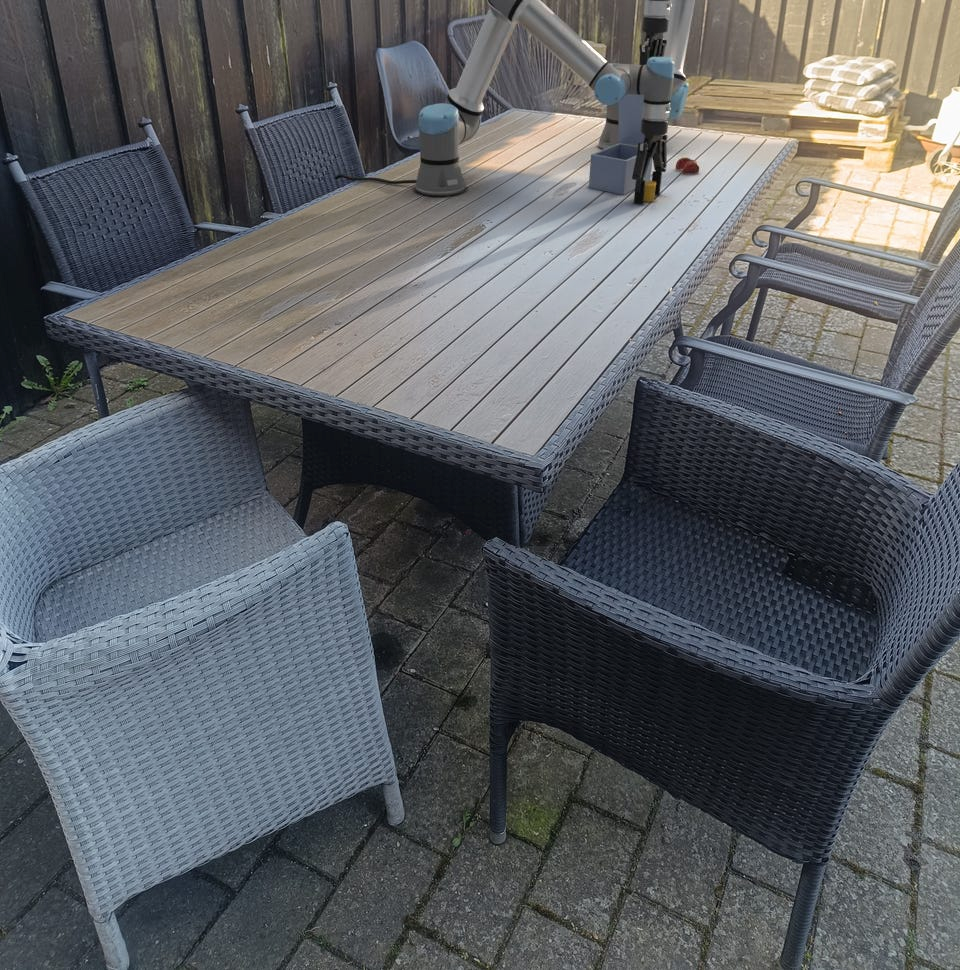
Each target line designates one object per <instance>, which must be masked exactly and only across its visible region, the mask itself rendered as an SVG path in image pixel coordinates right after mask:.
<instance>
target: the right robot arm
mask: <svg viewBox="0 0 960 970" xmlns="http://www.w3.org/2000/svg"><path fill="white" fill-rule="evenodd" d="M695 3H696V0H644V6H643V15H644V17H643V18H642V27H641V30H642V32H643V33H645V37H644V43H640V44H639V65H646V64H647V61H648V59H649V58H651V57H668V58H671V59H673V60H674V79H673V87H672V95H671V102H670V108H671V110H670V111H669V117H668V118H667V119H668V120H677V119H679V118H680V117H681V116H682V113H683V112H684V109H685V106H686V104H687V100H688V95H689V90H690V83H688V82H687V76H686V75H685V73H684V72H683V71H684V66H685V60H686V54H687V48H688V44H689V43H688V42H689V39H690V38H689V36H690V32H691V27H692V19H693V14H694V10H695V9H694V7H695ZM618 143H622V142H619V108H618V102H617V103H615V104H612V105H606V115H605V124H604V127H603V129H602V132H601V135H600V137H599V139H598V147H599V149H602V150H603V149H606V148H608V147H611V146H613V145H616V144H618ZM622 144H627V145H633V146H638V145H634V144H628V143H622Z"/></svg>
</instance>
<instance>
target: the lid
mask: <svg viewBox="0 0 960 970" xmlns="http://www.w3.org/2000/svg"><path fill="white" fill-rule="evenodd" d="M643 102H644V95H636V94H627V95H625V96H624V97H623V98H622V99H621V100H620V101H619V102H618V108H619V142H622V143H628V144H634V145H638V143H643V141H644V138H645V135H644V134H642V133H641V122H642V119H643V117H642V111H643Z"/></svg>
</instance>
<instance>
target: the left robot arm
mask: <svg viewBox="0 0 960 970" xmlns="http://www.w3.org/2000/svg"><path fill="white" fill-rule="evenodd" d="M486 2H487V3H486V4H487V6H488V11H487V13H486V14H485V18H484V21H483V23H482V25H481V27H480V30H479V32H478V34H477V36H476V40H475V41H474V44H473V47H472V49H471V51H470V53H469V56H468V59H467V61H466V63H465V65H464V67H463V70H462V72H461V75H460V78H459V80H458V82H457V85H456V87H454V88H452V89H449V90H448V93H447V96H446V98H445V100H444V103H443V102H442V103H441V102H440V103H433V104H429V105H427V106H425V107H422V109H420V111H419V113H418V122H417V124H418V136H419V138H418V139H419V157H420V158H419V159H420V161H419V162H420V164H419V168H418V172H417V176H416V179H404V180H403V179H402V180H389V179H384V178H380V177H370V176H369V177H368V176H367V177H365V176H364V177H356V176H355V177H353V176H349V175H346V174H343V173H339V174H337V175H336V176H335V177H334V178H333V180H339V179H340V178H343V179H345V180H348V181H353V182H354V181H355V182H357V181H359V182H363V181H364V182H365V181H367V182H370V181H372V182H380V183H384V184H388V185H402V184H415V192H417V193H418V194H420V195H424V196H430V197H450V196H455V195H459V194H461V193H463V192H464V191H466V181H465V179H464V176H463V172H462V169H461V165H460V145H462V144H464V143H465V142H467V141H469V140H471V139H472V138H473V137H474V136H475V135H476V134H477V132H478V131H479V129H480V127H481V123H482V114H483V112H484V109H485V106H484V103H483V99H484V97H485V95H486V93H487V91H488V88H489V86H490V84H491V81H492V79H493V77H494V74H495V72H496V70H497V68H498V66H499V64H500V61H501V59H502V57H503V54H504V52H505V51H506V48H507V46H508V43H509V41H510V39H511V36H512V34H513V33H514V30H515V27H516V25H517V24H519V25H520V26H521V27H522V28H523V29H525V30H526V31H527V32H528V33H529V34H530V35H531V36H533V37H534V38H535V39H536V41H538V42H539V43H540V44H541V45H543V47H544V48H545V49H547V50H548V51H549V52H550V53H551V54H552V55H554V57H555V58H557V59H558V60H559V61H560V62H561V63H562V64H563V65H565V66H566V67H567V68H568V69H569V70H570V71H571V72H572V73H574V74H575V75H576V77H578V78H579V79H580V80H581V81H582V82H583V83H584V84H586V85H587V86H588V87H589V88H590V89H591V90H593V92H594V96H595V98H596V100H597V101H598V102H599V103H600V104H602V105H604V106H607V105H612V104H615V103H617V102H619V101H620V100H621V99H622V98H623V97H624V96H625V95H627V94H636V95H644V102H643V111H642V117H643V119H642V122H641V133H642V134H644V135H645V138H644V141H643V143H638V151H637V156H636V161H635V166H634V170H633V175H632V179H633V180H636V184H635V189H634V196H633V203H634V204H640V205H643V204H644V201H643V200H644V191H645V180H644V178H645V175H646V172H647V169H648V166H649V162H650V159H651V158H652V157H653V160H652V165H653V169H654V170H653V171H652V173H651V181H656V187H655V196H660V193H661V185H662V176H663V173H666V171H667V163H668V160H667V157H668V155H667V151H668V150H667V146H668V145H667V144H668V143H667V142H668V135H667V133H668V129H669V119H667V118H668V117H669V111H670V110H671V108H670V102H671V95H672V87H673V79H674V60H673V59H671V58H668V57H651V58H649V59H648V61H647V64H646V65H640V64H631V63H620V62H615V63H609V62H608V60H607V59H606V58H604V57H603V56H602V55H601V54H600V53H599V52H598V51H596V49H594V48H593V47H592V46H591V45H590V44H589V43H588V42H587V41H586V40H584V39H583V38H582V37H581V36H580V35H579V34H578V33H577V32H576V31H574V29H572V27H570V26H569V25H568V24H567V23H566V22H565V21H563V20H562V18H560V17H559V16H558V15H557V14H556V13H554V12H553V10H552V9H550V8H549V7H548V6H547V5H546V4H545V3H544V2H543V1H542V0H486Z"/></svg>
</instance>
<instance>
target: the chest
mask: <svg viewBox="0 0 960 970" xmlns="http://www.w3.org/2000/svg"><path fill="white" fill-rule="evenodd" d="M637 151H638V146H633V145H627V144H622V143H618V144H616V145H613V146H611V147H608V148H606V149H602V150H598V151H596V152H594V153H591V154H590V163H589V178H588V188H589V189H594V190H598V191H604V192H609V193H614V194H619V195H625V194H626V195H627V194H628V193H630V192H632V191H635V184H636V180H633V179H632V175H633V170H634V166H635V161H636V156H637ZM652 167H653V157H652V158H651V159H650V162H649V166H648V169H647V172H646V175H645V178H644V180H645V181H651V179H652V170H653V169H652Z"/></svg>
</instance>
